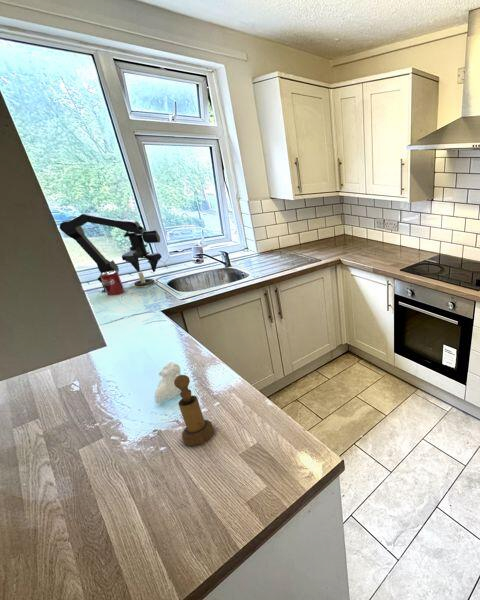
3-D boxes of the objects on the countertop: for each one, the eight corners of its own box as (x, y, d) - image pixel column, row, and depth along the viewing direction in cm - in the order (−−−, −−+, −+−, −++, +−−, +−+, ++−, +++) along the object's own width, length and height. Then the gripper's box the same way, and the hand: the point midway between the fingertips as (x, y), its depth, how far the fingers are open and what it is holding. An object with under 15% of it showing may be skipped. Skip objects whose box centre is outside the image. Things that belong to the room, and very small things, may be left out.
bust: (167, 414, 93) (185, 384, 91) (138, 404, 90) (156, 373, 88) (183, 388, 104) (200, 361, 102) (157, 378, 101) (174, 350, 99)
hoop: (130, 286, 182) (129, 283, 182) (144, 280, 191) (143, 278, 190) (145, 286, 182) (145, 283, 181) (158, 281, 190) (157, 278, 189)
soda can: (115, 297, 170) (107, 275, 166) (104, 296, 172) (95, 274, 167) (128, 292, 177) (121, 271, 172) (117, 291, 178) (110, 270, 174)
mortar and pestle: (192, 427, 85) (173, 369, 78) (218, 425, 86) (201, 367, 79) (178, 447, 79) (157, 386, 72) (206, 445, 80) (187, 384, 73)
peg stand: (130, 288, 183) (126, 275, 180) (143, 282, 191) (139, 270, 188) (145, 288, 182) (141, 275, 179) (157, 283, 191) (153, 270, 188)
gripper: (108, 247, 171) (118, 275, 177) (142, 247, 169) (151, 276, 175) (126, 242, 181) (135, 269, 187) (158, 243, 180) (166, 270, 186)
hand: (146, 271), depth 183 cm, fingers open, 9 cm apart
